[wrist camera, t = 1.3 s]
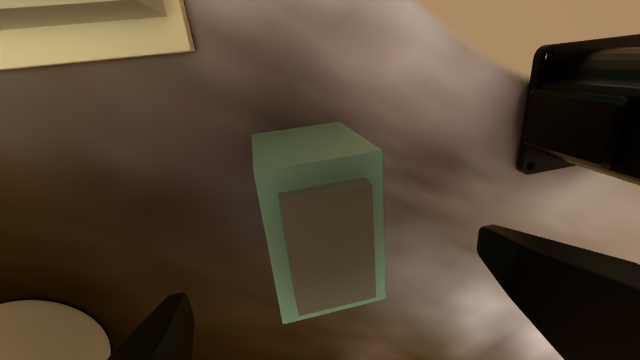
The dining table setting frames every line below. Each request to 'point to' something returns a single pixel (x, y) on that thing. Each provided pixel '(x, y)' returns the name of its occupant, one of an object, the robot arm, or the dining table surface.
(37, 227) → the dining table surface
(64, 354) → the mug
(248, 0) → the dining table surface
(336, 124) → the block
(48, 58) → the mount board
